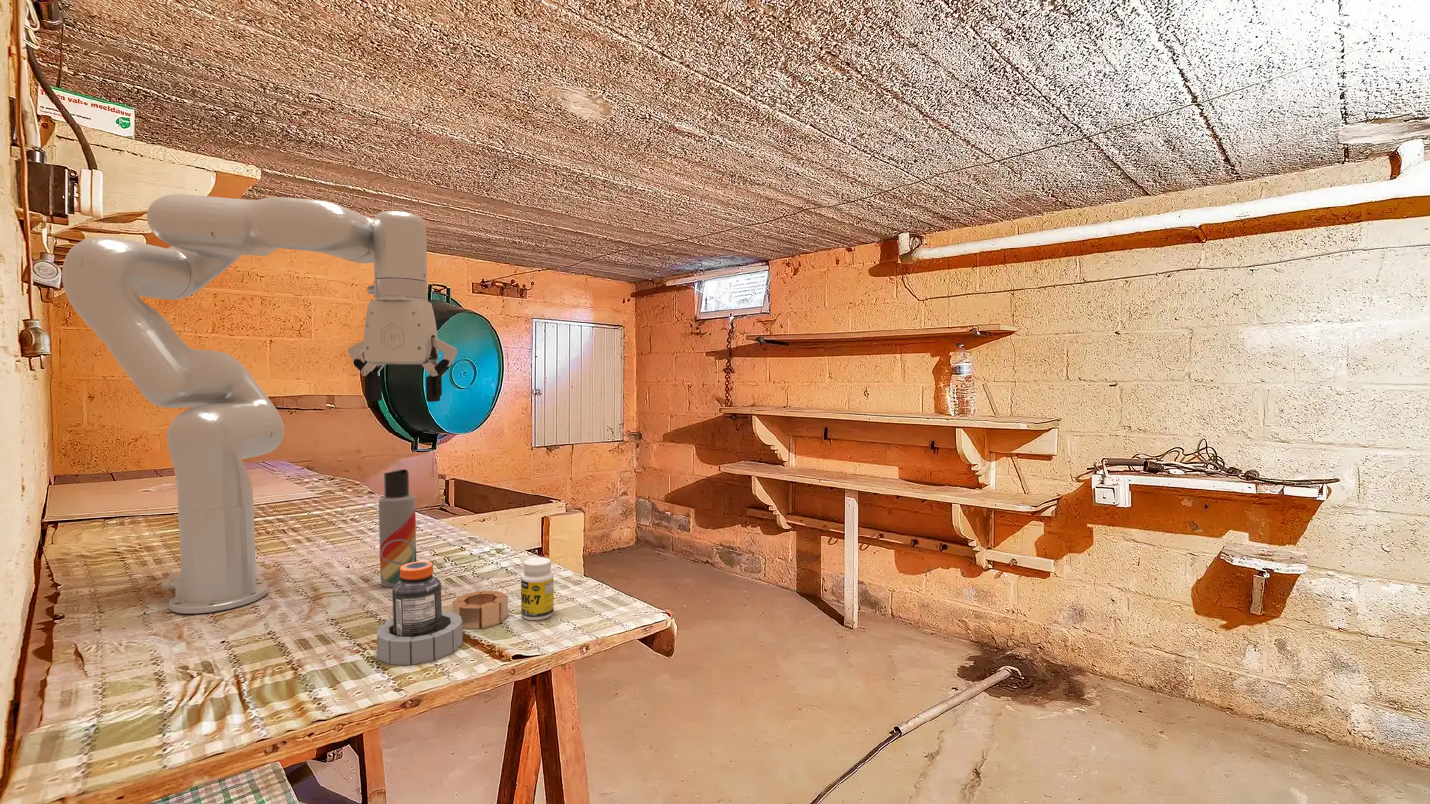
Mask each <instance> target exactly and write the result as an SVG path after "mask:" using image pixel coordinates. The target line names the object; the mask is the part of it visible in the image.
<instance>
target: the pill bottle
mask: <svg viewBox="0 0 1430 804" xmlns="http://www.w3.org/2000/svg"><path fill="white" fill-rule="evenodd" d="M433 566H434V565H433V563H432V562H431V561H428V560H427V561H425V560H419V561H417V560H416V562H411V563H407V564H405V565H402V566H401V567H400V578H401V579H400V581H398V582H397V583H396V584H395V585H394V587H393V588H392V589H391V590H392V615H393V616H392V619H393V626H394V635H395V636H397V637H417V636H423V635H429V634H432V633H435V632H438V631H440V630H442V611H443V610H442V606H443V605H442V583H441V580H440V578H438V577H437V576H434V575H433V572H434V567H433Z"/></svg>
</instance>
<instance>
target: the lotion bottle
mask: <svg viewBox="0 0 1430 804" xmlns="http://www.w3.org/2000/svg"><path fill="white" fill-rule="evenodd" d="M383 476H384V477H383V479H384V481H383V483H384V484H383V485H384V486H383V487H384V496H382V497H379V498H378V525H379V526H378V529H379V530H378V531H379V534H378V535H379V536H378V537H379V571H380V572H379V574H380V584H381V586H382V587H384V588H392V589H393V587H394V585H395V584H396V583H397V582H398V581H400V579H401V578H400V567H401V566H402V565H405V564H407V563H411V562H417V536H416V535H417V532H416V531H417V530H416V529H417V526H416V525H417V523H416V520H417V519H416V517H417V516H416V496H415V495H413V494H410V480H409V479H410V473H409V470H407V469H406V468H405V469H403V468H402V469H397V470H392V471H389V472H384V473H383Z"/></svg>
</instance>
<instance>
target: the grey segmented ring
mask: <svg viewBox="0 0 1430 804" xmlns="http://www.w3.org/2000/svg"><path fill="white" fill-rule="evenodd" d="M376 638H377V639H376V642H377V643H376V646H377V648H376V650H377V659H378V660H379V661H381V662H383V663H386V664H387V665H396V666H410V665H412V666H413V665H418V664H424V663H429V662H433V661H437V660H440V659H442V658H444V657H447V656H449V655H451V654H454V653H455V652H456V651H457V650H458V649H459V648H460V647H461V646H462V645H463V644H464V643H463V640H464V639H463V638H464V637H463V629H462V619H461V615H458V614H456V613H453V611H447V610H442V630H440V631H438V632H435V633H432V634H429V635H423V636H417V637H397V636H395V635H394V626H393V618H391V619H390V620H387V621H386V622H384V623H383V624H382V625H380V626H379V627H378V628H377V629H376Z"/></svg>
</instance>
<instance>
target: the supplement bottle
mask: <svg viewBox="0 0 1430 804" xmlns="http://www.w3.org/2000/svg"><path fill="white" fill-rule="evenodd" d="M551 560H552V559H550V558H548V557H541V556H540V557H538V556H537V557H532V558H527V559H524V561H523V569H522V570H523V573H522V574H521V577H520V602H521V603H520V614H521V617H522V619H523V620H529V621H542V620H545V619H548V618H550V617H552V615H553V614H554V609H555V608H554V573H553V572H552V571H551V570H552V563H551V562H552V561H551Z"/></svg>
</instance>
